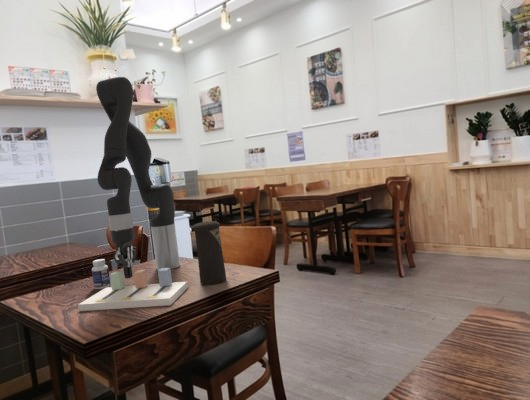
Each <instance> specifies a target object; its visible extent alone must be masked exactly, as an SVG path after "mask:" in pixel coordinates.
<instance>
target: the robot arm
mask: <svg viewBox="0 0 530 400" xmlns="http://www.w3.org/2000/svg"><path fill="white" fill-rule="evenodd" d="M95 88H96V90H95V91H96V94H97V97H98V101H99V102H100V104H101V106H102V108H103V110H104V111H105V113H106V115H107V117H108V119H109V121H110V124H109V126H108V127H107V129H106V132H105V135H104V141H103V142H104V143H103V144H104V145H103V157H102V160H101V164H100V166H99V170H98V173H97V182H98V183H97V184H98V185H99V187H100V188H101V189H102V190H105V191H113V190H117V192H116V195H114V196H111V197H109V198H108V199H107V200H106V205H107V212H108V213H107V214H108V226H109V231H110V232H109V233H110V241H111V243H113V244H115V250H116V253H115V254H113V255H112V258H113V260H114V262H115V263H116V264H117V266H118V268H122V269H123V275H124V279H131V278H133V277H134V274H133V267H132V266H133V263H135V260H136V254H137V247H136V246H133V241H134V240H135V239H136V235H135V230H134V229H135V228H134V221H133V217H132V214H131V206H130V197H131V195H130V194H131V187H132V174H131V172H130V170H129V169H128V168H126V167H123V166H121V167H117V165H119V164H122V163H123V162H125V161H126V160H127V161H128V164H129V166H130V169H131V170H132V173H133V176H134V178H135V181H136V183H137V188H138V191H139V193H140V197H141V201H142V202H143V205H145V207H147V208H148V209H152V210H153V209H159V210H158V211H159V212H158V214H157V215H156V216H154V217H153V218H151V219H150V221H149V223H150V229H151V236H152V244H153V253H154V259H155V267H156V270H157V271H158V270H160V269H161V268H170V269H171V270H172V269H176V268H178V267H180V266H181V262H180V254H179V247H178V240H177V239H178V238H177V230H176V225H175V214H176V212H175V201H174V199H175V197H174V194H173V189H172V188H171V187H172V186H170V185H168V184H166V183H164V184H163V183H162V184H153V182H152V180H151V177H150V173H149V172H150V166H151V161H152V160H151V159H152V150H151V147H150V145H149V142H148V140H147V137H146V135H145V134H144V133H143V132H142V131H141V130H140V128H139V127H138V126H136V125H135V124H134V123H133V122H131V121H130V117H131V113H132V108H133V100H134V88H133V85H132V82H131V81H130V80H129V78H127V77H126V76H115V77H112V78H111V77H110V78H107V79H102V80H100V81H98V82H97V83H96V87H95Z"/></svg>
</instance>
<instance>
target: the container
mask: <svg viewBox="0 0 530 400" xmlns="http://www.w3.org/2000/svg"><path fill="white" fill-rule="evenodd" d="M220 226H221V223H220V222H218V221H213V220H212V221H203V222H202V221H201V222H198V223H195V224H194V225H193V226H192V229H193V232H194V237H195V243H196V251H197V260H198V261H197V262H198V270H199V273H198V274H199V281H200V284H201V285H206V286H207V285H208V286H209V285H216V284H221V283H223V282H225V281H226V280H227V274H226V267H225V261H224V254H223V247H222V240H221V239H222V238H221V233H220Z"/></svg>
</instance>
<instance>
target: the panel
mask: <svg viewBox="0 0 530 400" xmlns="http://www.w3.org/2000/svg"><path fill="white" fill-rule="evenodd" d="M148 284H149V283H148ZM187 289H189V283H188V281H176V282H172V284H171V285H169V286H160V284H159V283H150V284H149V285H148V286H146V287H145V288H136V287H135V284H133V285H125V287H124V288H122V289H119V290H112V287H111V286H109V287H107V288H104V289H100V290H99V291H97V292H96V293H95V294H93V295H91V296H90V297H88V298H87V299H84V300H83V301H82V302H80V303H78V304H77V306H78V311H79V312H87V311H89V312H90V311H102V310H118V309H120V310H121V309H131V308H133V309H134V308H135V309H136V308H146V307H147V308H148V307H162V306H171V305H172V304H173V303H174V302H175V301H176V300H178V299H179V297H180V296H182V294H184V293H185V291H186V290H187Z"/></svg>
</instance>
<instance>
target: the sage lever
mask: <svg viewBox="0 0 530 400" xmlns="http://www.w3.org/2000/svg"><path fill="white" fill-rule="evenodd" d="M109 277H110V287H112V290H119V289H122V288H124V287H125V286H126V282H125V276H124V270H123V271H122V270H121V271H115V272H112V273H109Z"/></svg>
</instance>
